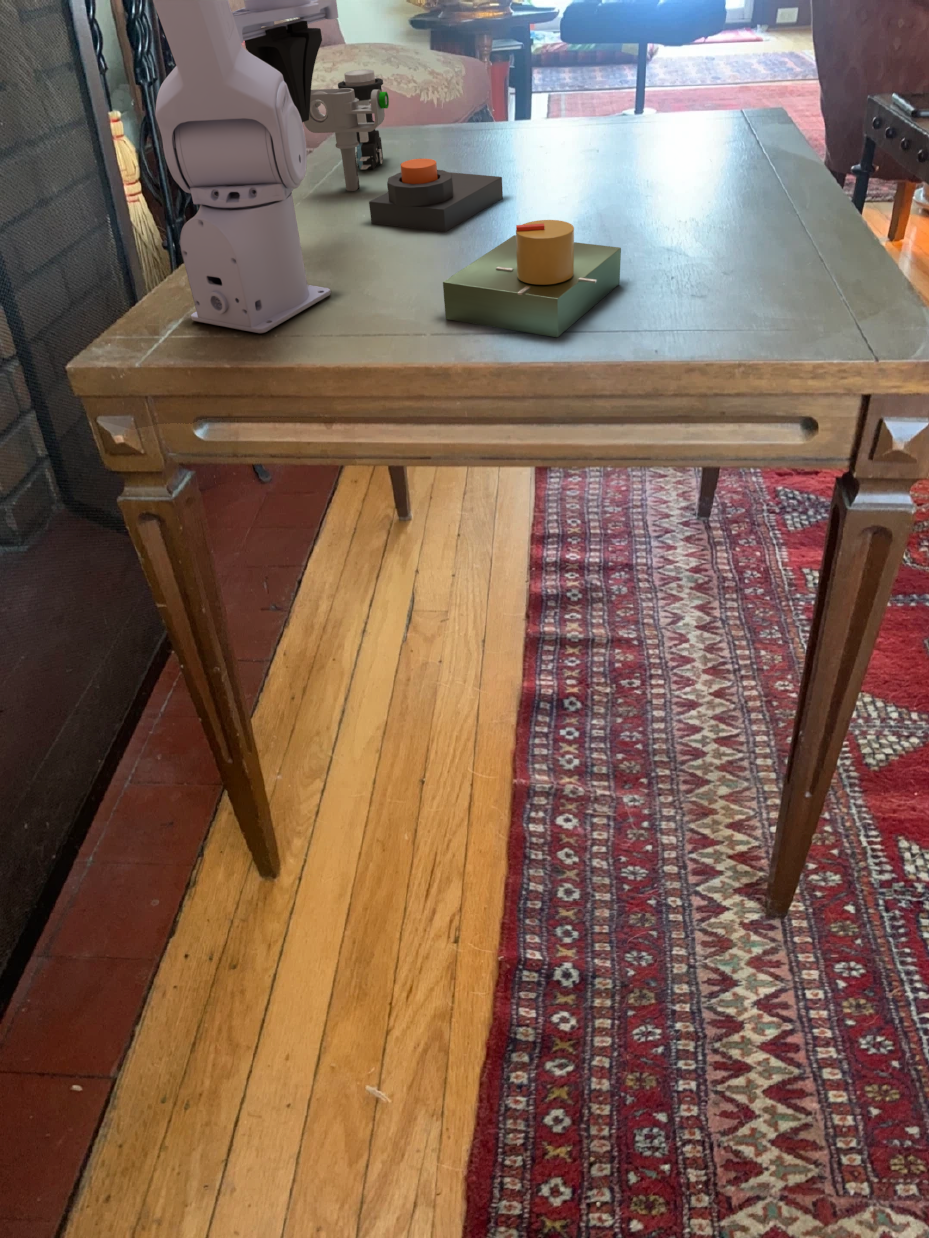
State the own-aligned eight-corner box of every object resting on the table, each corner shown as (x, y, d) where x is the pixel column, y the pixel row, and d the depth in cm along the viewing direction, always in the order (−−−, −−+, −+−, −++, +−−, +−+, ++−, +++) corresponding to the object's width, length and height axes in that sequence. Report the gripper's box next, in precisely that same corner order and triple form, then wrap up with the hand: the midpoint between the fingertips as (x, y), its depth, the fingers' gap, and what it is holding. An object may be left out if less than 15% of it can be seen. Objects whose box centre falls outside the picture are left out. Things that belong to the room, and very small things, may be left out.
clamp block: (571, 341, 69) (571, 300, 67) (443, 320, 74) (440, 281, 72) (634, 285, 77) (636, 247, 75) (514, 269, 82) (513, 233, 80)
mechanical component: (392, 193, 104) (381, 92, 97) (306, 193, 106) (290, 95, 99) (399, 185, 106) (389, 86, 99) (314, 186, 108) (299, 89, 101)
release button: (425, 188, 91) (424, 169, 90) (395, 185, 93) (393, 166, 91) (444, 178, 93) (443, 159, 92) (414, 175, 95) (412, 157, 94)
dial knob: (571, 263, 74) (571, 213, 71) (576, 283, 70) (576, 231, 68) (516, 267, 74) (514, 217, 71) (518, 287, 70) (516, 235, 68)
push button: (385, 173, 110) (374, 78, 104) (342, 175, 111) (329, 80, 105) (395, 159, 115) (385, 67, 109) (353, 160, 116) (341, 69, 110)
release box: (444, 233, 91) (440, 190, 89) (369, 224, 95) (364, 183, 92) (503, 198, 99) (501, 158, 97) (432, 191, 103) (429, 152, 100)
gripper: (247, -49, 72) (281, 142, 80) (355, -67, 81) (374, 106, 90) (181, -47, 75) (220, 137, 83) (292, -64, 84) (317, 103, 93)
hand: (296, 121), depth 87 cm, fingers closed
